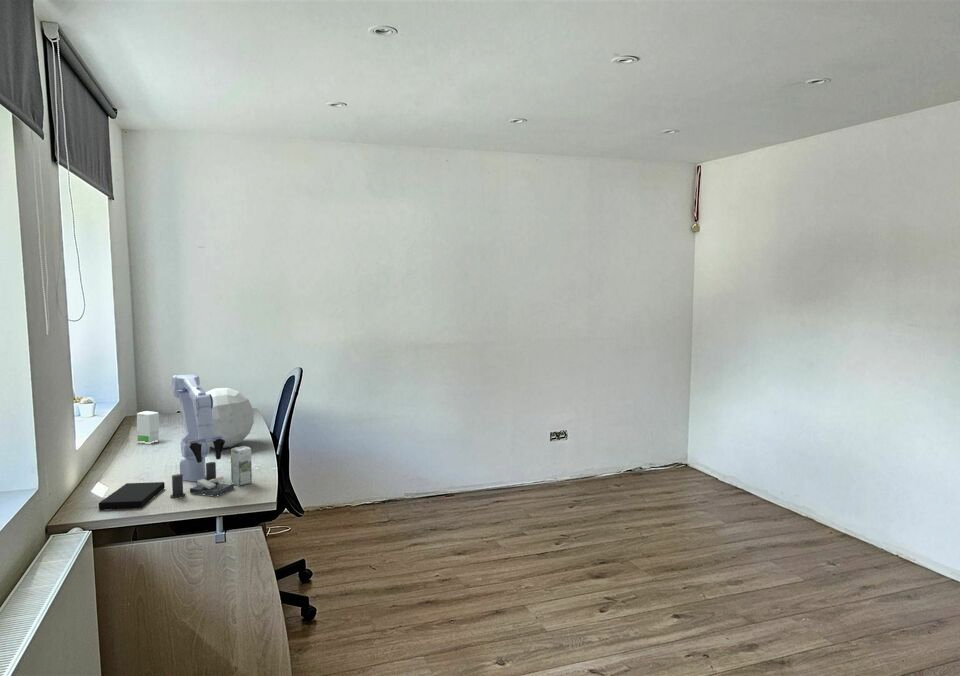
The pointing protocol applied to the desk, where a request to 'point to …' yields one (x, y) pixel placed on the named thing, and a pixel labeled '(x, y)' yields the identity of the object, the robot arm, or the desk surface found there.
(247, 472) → the syrup box
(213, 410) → the ball
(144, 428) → the skincare box
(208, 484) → the grey paddle
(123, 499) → the external hard drive
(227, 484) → the panel
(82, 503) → the desk surface
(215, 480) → the orange-tipped paddle
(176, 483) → the post
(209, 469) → the far cord post
